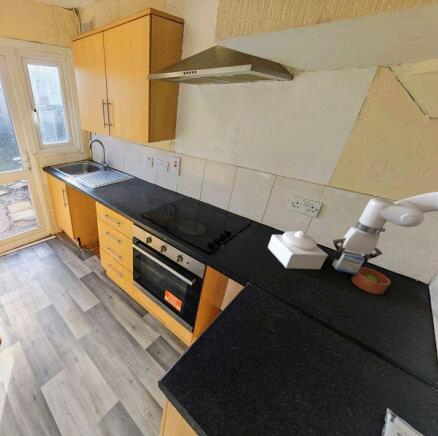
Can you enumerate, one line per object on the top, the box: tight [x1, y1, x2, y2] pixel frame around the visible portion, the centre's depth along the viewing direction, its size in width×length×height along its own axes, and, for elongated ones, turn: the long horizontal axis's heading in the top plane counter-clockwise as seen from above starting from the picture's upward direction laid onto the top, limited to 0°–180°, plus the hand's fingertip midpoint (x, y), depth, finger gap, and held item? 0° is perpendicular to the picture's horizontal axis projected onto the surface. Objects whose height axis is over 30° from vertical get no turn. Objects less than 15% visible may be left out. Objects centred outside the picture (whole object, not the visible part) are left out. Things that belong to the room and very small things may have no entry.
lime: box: [364, 275, 378, 283], centre depth 100 cm, size 5×5×5 cm
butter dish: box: [267, 230, 329, 270], centre depth 114 cm, size 18×18×16 cm
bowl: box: [350, 266, 391, 295], centre depth 100 cm, size 11×11×6 cm
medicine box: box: [331, 250, 365, 275], centre depth 101 cm, size 8×4×9 cm, turn 71°
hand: (348, 261), depth 101 cm, fingers closed on medicine box, 8 cm apart
